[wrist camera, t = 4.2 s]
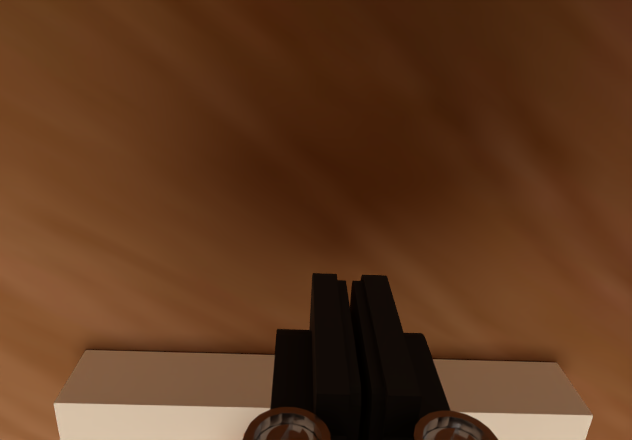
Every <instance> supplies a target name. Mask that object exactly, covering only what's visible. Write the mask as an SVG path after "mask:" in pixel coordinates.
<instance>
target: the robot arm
mask: <svg viewBox="0 0 632 440" xmlns="http://www.w3.org/2000/svg"><path fill="white" fill-rule="evenodd" d="M243 440H498V438H497V437H496V436H495V435H494V433H493V432H492V431H491V430H490V429H489V427H487V426H486V425H485V424H483V423H482V422H481V421H479V420H478V419H476V418H473V417H471V416H469V415H467V414H464V413H460V412H456V411H451V410H450V407H449V404H448V401H447V399H446V396H445V393H444V390H443V387H442V384H441V382H440V379H439V376H438V373H437V370H436V367H435V364H434V362H433V359H432V356H431V353H430V350H429V347H428V345H427V342H426V339H425V337H424V335H423V334H422V333H403V330H402V326H401V323H400V319H399V316H398V312H397V309H396V306H395V302H394V299H393V295H392V292H391V289H390V285H389V282H388V278H387V276H382V275H362V277H361V281H353V282H352V290H351V302H350V306H349V299H348V292H347V285H346V281H342V280H337V274H320V273H313V275H312V291H311V311H310V330H289V329H277V334H276V346H275V359H274V371H273V383H272V395H271V407H270V410H268V411H266V412H264V413H262V414H260V415H258V416H257V417H256V418H255V419H254V420H253V421H252V422H251V423H250V424H249V426H248V428H247V430H246V431H245V434H244V437H243Z"/></svg>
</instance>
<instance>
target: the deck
mask: <svg viewBox="0 0 632 440" xmlns="http://www.w3.org/2000/svg"><path fill="white" fill-rule="evenodd" d="M274 359H275V355H257V354H220V353H182V352H145V351H108V350H86V351H85V352H84V354H83V356H82V357H81V359H80V360H79V362H78V364H77V365H76V367H75V369H74V370H73V372H72V374H71V375H70V377H69V378H68V380H67V382H66V383H65V385H64V387H63V388H62V390H61V392H60V393H59V395H58V397H57V398H56V400H55V401H54V408H55V413H56V419H57V424H58V430H59V435H60V440H243V436H244V433H245V431H246V430H247V428H248V426H249V424H250V423H251V422H252V421H253V420H254V419H255V418H256V417H257V416H258V415H260V414H262V413H264V412H266V411H268V410H270V407H271V395H272V383H273V371H274ZM433 362H434V364H435V367H436V370H437V373H438V376H439V379H440V382H441V384H442V387H443V390H444V393H445V396H446V399H447V401H448V404H449V407H450V410H451V411H456V412H460V413H464V414H467V415H469V416H471V417H473V418H476V419H478V420H479V421H481V422H482V423H483V424H485V425H486V426H487V427H489V429H490V430H491V431H492V432H493V433H494V435H495V436H496V437H497V438H498V440H585V439H586V436H587V433H588V430H589V427H590V424H591V420H592V417H593V415H592V413H591V412H590V410H589V409H588V407H587V406H586V404H585V403H584V401H583V400H582V398H581V397H580V395H579V394H578V393H577V391H576V390H575V388H574V387H573V385H572V384H571V382H570V381H569V379H568V378H567V376H566V375H565V373H564V372H563V370H562V369H561V368H560V366H559V365H558V363H556V362H519V361H481V360H444V359H433Z"/></svg>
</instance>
